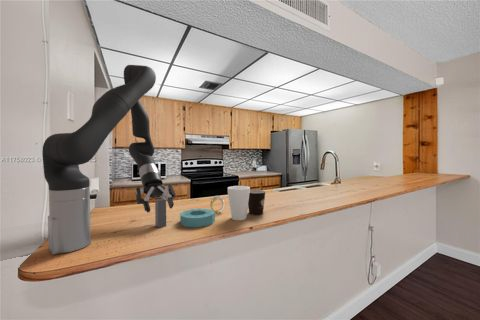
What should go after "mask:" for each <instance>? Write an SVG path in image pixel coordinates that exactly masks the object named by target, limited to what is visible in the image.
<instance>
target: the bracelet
mask: <svg viewBox="0 0 480 320" xmlns="http://www.w3.org/2000/svg"><path fill="white" fill-rule="evenodd" d="M217 200H220V201H221V203H222V204H221V208H220V209H219V210H214V209H213V204H214V203H215V202H216V201H217ZM225 204H226V203H225V200H224V198H223V197H221V195H215V196H213V197H212V198H211V200H210V202H209V208H210V210H213V211H214V212H215V214H216V213H217V214H219V213H220V212H222V211H223V210H224V208H225Z"/></svg>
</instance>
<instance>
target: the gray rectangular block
mask: <svg viewBox="0 0 480 320" xmlns="http://www.w3.org/2000/svg"><path fill="white" fill-rule="evenodd" d="M154 202H155V203H154V205H155V206H154V213H155V215H154V217H155V222H154V223H155V227H156V228H157V229H159V228H160V229H161V228H163V227H164V228H165V227H167V200H166V199H165V198H164V199H163V198H156V199H155V200H154Z"/></svg>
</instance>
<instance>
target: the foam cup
mask: <svg viewBox="0 0 480 320" xmlns="http://www.w3.org/2000/svg"><path fill="white" fill-rule="evenodd" d="M250 190H251V187H250V186H247V185H233V186H232V185H231V186H228V187H227V194H228V203H229V209H230V215H231V216H230V217H231V219H232V220H234V221H244V220H246V219H247V216H248V210H249V208H248V201H249V194H250Z"/></svg>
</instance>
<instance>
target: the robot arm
mask: <svg viewBox="0 0 480 320" xmlns="http://www.w3.org/2000/svg"><path fill="white" fill-rule="evenodd" d="M156 79H157V77H156V73H155V71H154V69H153V68H152V67H150V66H148V65H142V64H141V65H138V64H127V65H126V66H125V67H124V70H123V81H124V84H121V85H119V86H116V87H113V88H111V89H109V90H108V91H105V92H104V93H103V94H102V95H101V96H100V97H99V98H97V100H96V101H95V102H94V104H93V106H92V109H91V114H90V117H89V119H88V120H87V121H86V122H85V123H83V125H82V126H81V127H80V128H78V129H76V130H75V131H73V132H63V133H54V134H51V135H49V136H48V137H47V138H46V139H45V140H44V142H43V145H42V151H41V152H42V153H41V154H42V165H43V166H42V167H43V176H44V179H45V181H46V182H47V185H48V211H49V213H48V216H47V240H48V250H49V251H50V252H49V253H51V255H52V256H53V255H58V254H66V253H71V252H75V251H78V250H82V249H83V248H85V247H87V246H89V245H90V244H91V242H92V241H91V240H92V237H91V236H92V234H91V197H90V196H91V193H90V192H91V191H90V189H91V188H90V186H91V185H90V183H91V182H90V179H89V177H88V176H87V175H85V174H83V172H81V170H80V167H79V165H84V164H87V163H88V162H90V161H91V160H92V159H93V158H94V157H95V155H96V154H97V153H98V151H99V150H100V148H101V146H102V145H103V143H104V142H105V140H106V139H107V138H108V136H109V135H110V134H111V132H113V130H114V129H115V128H116V126H118V124H119V123H120V122H121V121H122V120H123V119H124V118H125V117H126V116H127V114H128V113H129V112H130V115H131V129H132V136H134V137H135V138H140V139H144V141H141V142H140V141H139V142H138V141H137V142H136V141H135V142H131V143H130V144H129V146H128V152H129V153H128V154H129V155H130V157H131V158H132V159H133V161H134V162H135V164H136V165H137V168H138V172H139V178H140V181H141V185H142V188H141V187H136V189H135V199H136V204H137V205H140V204H142V205H143V209H144V212H147V213H150V212H151V206H150V203H149V201H150V199H155V198H161V199H165V200H166V203H167V205H168V208H169V210H170V209H173V208H174V205H175V204H174V199H175V197H176V192H175V190H174V187H173V185H172V184H168V185H166V186H165V185H164V184H163V183H164V182H163V180H162V177H161V175H160V171H159V169H158V167H157V165H156V162H155V159H154V157H153V156H154V154H155V147H154V144H153V140H152V138H151V133H150V132H151V131H150V117H149V114H148V113H147V111H146V109H145V107H144V105H143V104H142V101H141V98H143V96H145V95H146V94H147V93H149V91H151V90H152V89H153V88H154V86H155V84H156V82H157V81H156ZM142 194H145V195H146V196H145V197H144V198H142Z"/></svg>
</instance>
